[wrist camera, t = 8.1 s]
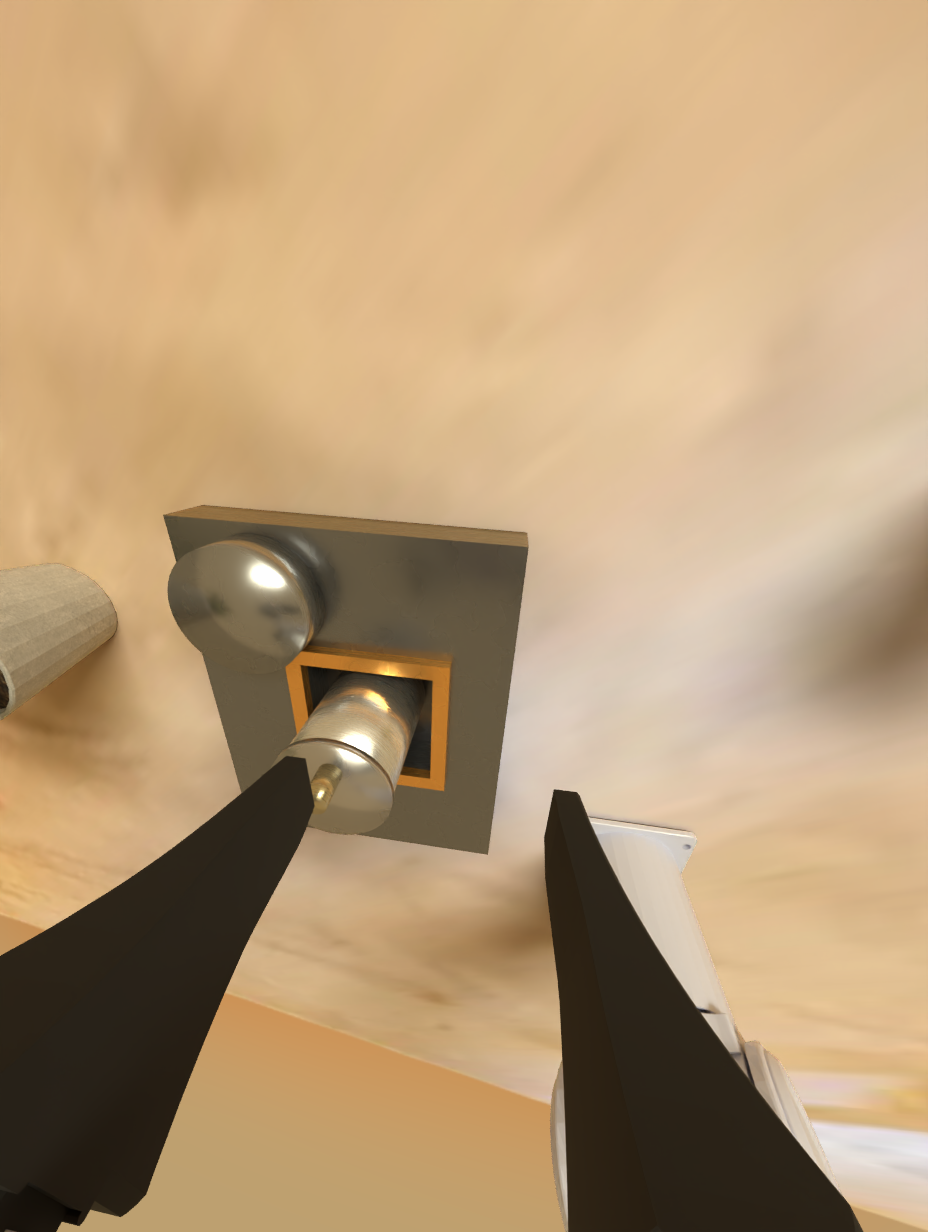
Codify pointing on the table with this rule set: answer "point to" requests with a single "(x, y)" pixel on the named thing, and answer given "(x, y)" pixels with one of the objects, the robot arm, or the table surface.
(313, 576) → the grey block with opening
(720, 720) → the table surface
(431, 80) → the table surface
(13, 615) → the house plant
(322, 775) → the spout can
